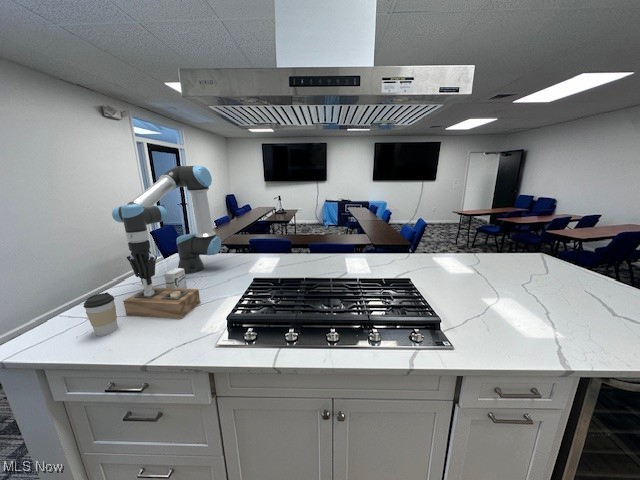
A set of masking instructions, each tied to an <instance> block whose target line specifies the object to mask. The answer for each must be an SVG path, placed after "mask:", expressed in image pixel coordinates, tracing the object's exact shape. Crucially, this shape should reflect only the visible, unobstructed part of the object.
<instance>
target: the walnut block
mask: <svg viewBox="0 0 640 480" xmlns="http://www.w3.org/2000/svg"><path fill="white" fill-rule="evenodd" d="M152 290H154V292H155V293H154V294H153V295H151V296H144V292H145V291H144V289H143V290H140V291H138V292H137V293H135V294H133V295H131V296H129V297H128V298H125V299H124V300H122V301H123V305H124V307H123V308H124V311H125V315H126V316H130V317H133V316H134V317H146V318H147V317H149V318H166V319H183V318H184V317H185V316H187V314H189V313H190V312H191V311H192V310H193V309H195V308H196V307H197V306H198V305H199V304H200V303H201V298H200V297H201V296H200V290H199V288H187V289H184V288H167V287H159V286H156V287H155V286H152ZM175 291H180V293H181V295H180V296H178V297H171V296H170V293H172V292H175Z"/></svg>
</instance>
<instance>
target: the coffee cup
mask: <svg viewBox="0 0 640 480" xmlns="http://www.w3.org/2000/svg"><path fill="white" fill-rule="evenodd" d="M83 308H84V310H85V314H86V316H87V318H88V321H89V323H90V325H91V327H92V329H93V332H94V334H95V336H97V337H102V336H107V335H110V334H112V333H114V332H116V331H117V330H118V327H119V326H118V320H117V316H118V315H117V308H116V302H115V297H114V296H113V294H110V293H109V292H102V293H98V294H93V295H91V296H89V297H88V298H86V300H85V301H84V303H83Z"/></svg>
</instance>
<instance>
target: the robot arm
mask: <svg viewBox="0 0 640 480" xmlns="http://www.w3.org/2000/svg"><path fill="white" fill-rule="evenodd" d="M212 182H213V179H212V174H211V173H210V170H209V169H208V168H206V167H205V166H203V165H179V166H175V167H173V168H171V169H168V170H167V171H165V172H164V173H162V174H161V175H160V176H159V177H158V180H157V181H156V182H154V183H153V184H152V185H150V186H148V188H146V189H145V190H143V191H142V192H141V193H140V194H139V195H137V196H136V197H134V198H133V199H132V200H131V201H130V202H127V204H123V205H121V206H115V207H114V208H113V209H112V211H111V216H112V218H113V220H114V221H115V222H117V223H123V227H124V231H125V235H126V239H127V242H128V243H127V245H128V251H130V255H128V256H126V259H127V261H128V262H129V263H130V266H131V269H132V271H133V272H134V275H135V277H136V278H139V279H140V281H141V285H142V286H143V290H144V291H145V292H149V291H151V290H152V287H153V286H152V284H153V281H152V277H154V276H155V275H156V261H157V259H158V255H154V254H152V252H151V250H150V249H151V244H150V243H151V242H150V240H149V238H150V237H149V232H148V227H147V225H151V224H155V223H156V224H157V223H161V222H164V221H165V220H166V219H167V218H168V211H167V209H166V208H165V207H163V206H161V205H156V204H157V203H158V201H161V199H162V198H164V197H165V196H166V195H167V194H169V193H170V192H171V191H175V190H176V189H178V188H183V187H185V188H186V190H187V192H189V193H190V196H191V203H192V209H193V213H194V220H195V225H196V230H197V233H187V234H183V235H180V236H177V238H176V247H177V248H176V249H177V253H178V258H179V259H178V260H179V261H178V267H177V268H183V269H184V272H185V275H186V274H193V273H197V272H200V271H203V269H204V268H205V264H204V263H203V260H202V258H201V257H200V256H216V255H217V254H219V252H220V250H221V248H222V239H221V238H220V236H217V232H215V231H214V229H213V224H212V222H213V221H212V217H211V211H210V205H209V204H210V203H209V199H208V198H209V197H208V191H209V190H210V189H209V187H210V186H211V185H212Z"/></svg>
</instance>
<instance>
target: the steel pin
mask: <svg viewBox="0 0 640 480" xmlns="http://www.w3.org/2000/svg"><path fill="white" fill-rule="evenodd" d="M154 293H155V292H154V290H151V291H149V292H144V296H151V295H153V294H154Z"/></svg>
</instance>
